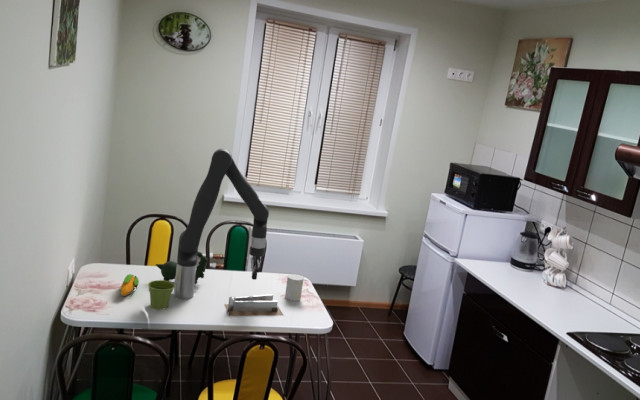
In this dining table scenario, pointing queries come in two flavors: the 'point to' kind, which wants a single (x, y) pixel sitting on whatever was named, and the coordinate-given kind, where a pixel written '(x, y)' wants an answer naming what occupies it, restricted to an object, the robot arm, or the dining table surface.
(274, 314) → the walnut board
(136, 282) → the corn
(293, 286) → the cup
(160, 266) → the toy figurine
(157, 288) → the plant pot
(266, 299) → the tongs swing arm
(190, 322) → the dining table surface
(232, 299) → the arm
